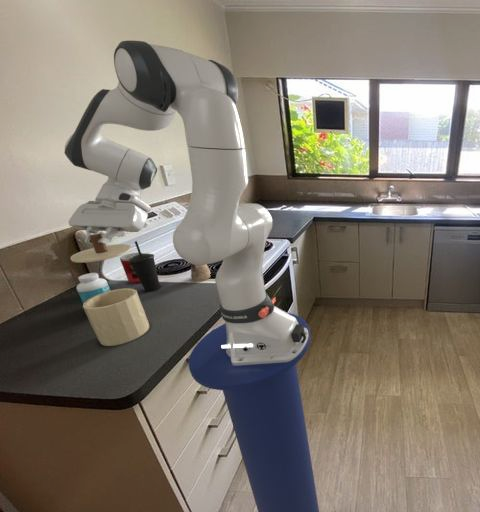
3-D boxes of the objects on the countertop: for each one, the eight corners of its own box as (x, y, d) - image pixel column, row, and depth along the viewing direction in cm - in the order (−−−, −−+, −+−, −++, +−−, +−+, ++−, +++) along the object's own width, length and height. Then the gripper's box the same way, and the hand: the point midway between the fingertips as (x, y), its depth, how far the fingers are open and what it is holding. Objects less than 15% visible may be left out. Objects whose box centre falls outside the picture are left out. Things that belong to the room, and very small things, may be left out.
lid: (143, 248, 88) (136, 229, 85) (101, 265, 76) (92, 243, 74) (105, 247, 89) (98, 227, 86) (58, 263, 77) (48, 242, 75)
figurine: (196, 274, 126) (189, 249, 121) (213, 273, 127) (207, 248, 122) (189, 282, 119) (181, 255, 115) (207, 280, 120) (200, 254, 116)
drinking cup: (139, 288, 114) (121, 241, 107) (162, 282, 119) (146, 236, 112) (142, 295, 109) (123, 246, 102) (166, 288, 114) (150, 241, 107)
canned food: (139, 275, 125) (130, 252, 121) (156, 275, 125) (148, 252, 121) (123, 283, 118) (114, 259, 114) (142, 284, 118) (133, 259, 114)
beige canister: (158, 323, 93) (146, 289, 88) (125, 347, 82) (109, 309, 77) (126, 321, 94) (112, 287, 89) (89, 344, 83) (70, 307, 78)
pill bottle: (118, 310, 100) (103, 275, 95) (88, 319, 95) (71, 282, 90) (116, 302, 105) (102, 268, 100) (88, 310, 100) (72, 275, 95)
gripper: (74, 194, 84) (50, 237, 78) (139, 196, 82) (118, 239, 76) (96, 206, 89) (75, 246, 84) (156, 208, 88) (138, 249, 82)
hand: (96, 243), depth 80 cm, fingers closed on lid, 2 cm apart
